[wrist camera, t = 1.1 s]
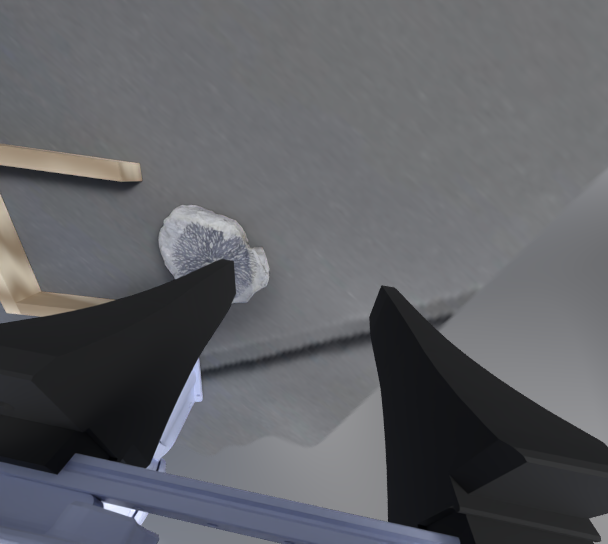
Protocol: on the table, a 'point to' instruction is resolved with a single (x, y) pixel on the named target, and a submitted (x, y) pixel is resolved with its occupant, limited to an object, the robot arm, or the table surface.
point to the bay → (8, 249)
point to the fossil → (212, 248)
